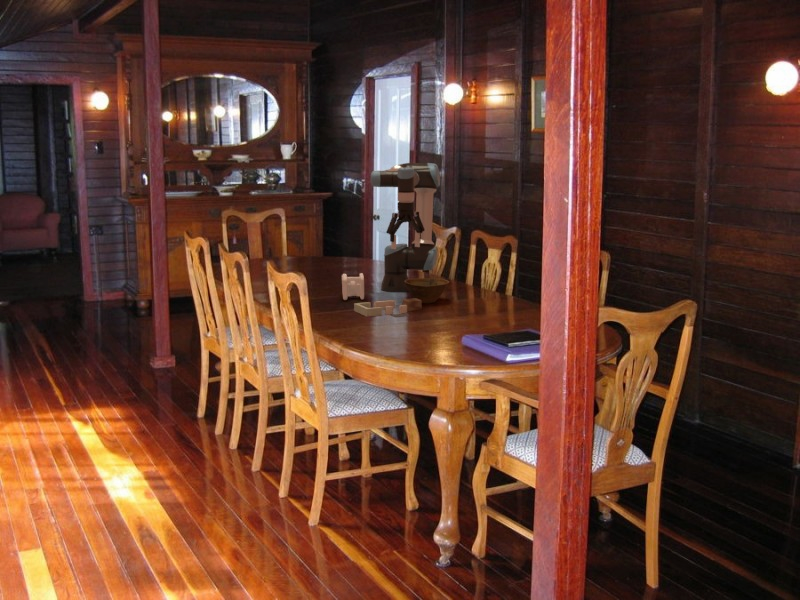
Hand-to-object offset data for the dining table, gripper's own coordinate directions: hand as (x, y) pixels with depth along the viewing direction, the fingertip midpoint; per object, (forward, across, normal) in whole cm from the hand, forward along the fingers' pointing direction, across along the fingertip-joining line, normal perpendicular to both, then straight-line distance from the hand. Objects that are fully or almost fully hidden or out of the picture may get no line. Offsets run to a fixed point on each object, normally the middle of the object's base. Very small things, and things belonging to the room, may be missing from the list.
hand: (405, 247), depth 426 cm
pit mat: (+28, +15, +16) cm, 35 cm away
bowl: (+27, -15, -3) cm, 31 cm away
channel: (+27, +13, +5) cm, 31 cm away
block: (+28, +2, +7) cm, 29 cm away
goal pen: (+28, +23, +3) cm, 36 cm away
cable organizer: (+28, +9, -30) cm, 42 cm away
